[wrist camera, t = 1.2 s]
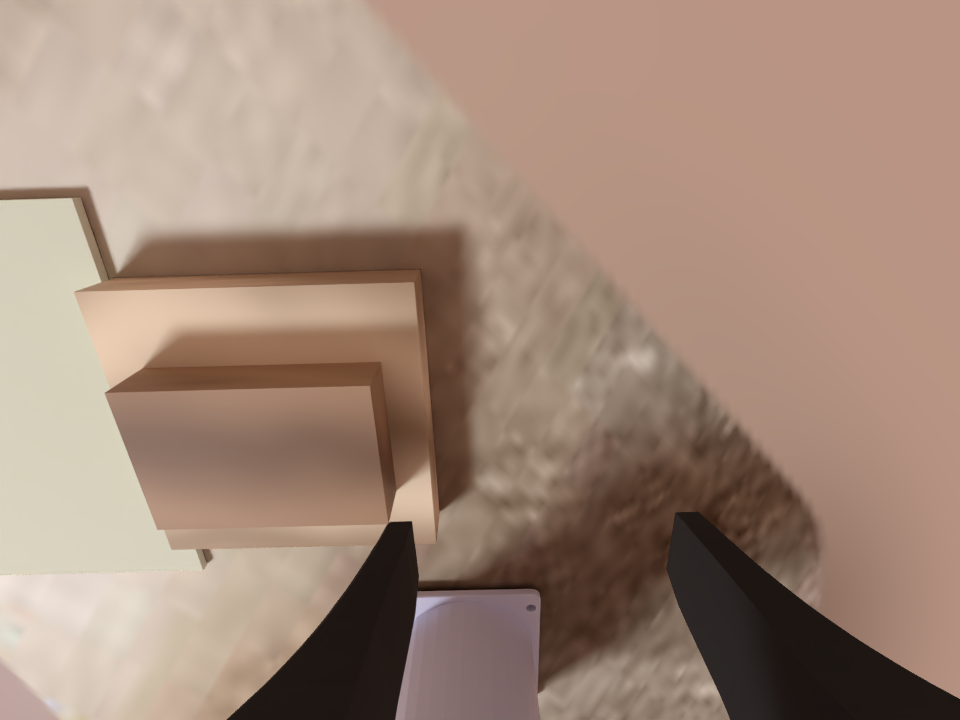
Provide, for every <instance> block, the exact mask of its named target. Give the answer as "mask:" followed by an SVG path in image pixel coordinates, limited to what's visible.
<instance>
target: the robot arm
mask: <svg viewBox="0 0 960 720" xmlns="http://www.w3.org/2000/svg"><path fill="white" fill-rule="evenodd" d="M667 572H668V575H669V578H670V581H671V584H672V587H673V590H674V593H675V596H676V599H677V602H678V605H679V607H680V610H681V612H682V614H683V616H684V619H685V621H686V623H687V625H688V627H689V629H690V632H691V634H692V636H693V638H694V640H695V642H696V644H697V647H698V649H699V651H700V653H701V655H702V657H703V659H704V662H705V664H706V666H707V668H708V670H709V672H710V674H711V676H712V679H713V681H714V683H715V685H716V687H717V689H718V691H719V694H720V696H721V698H722V701H723V703H724V705H725V708H726V710H727V712H728V715H729V717H730V720H960V699H959V698H957V697H955V696H953V695H951V694H949V693H948V692H946V691H944V690H942V689H940V688H938V687H936V686H935V685H933V684H931V683H929V682H927V681H926V680H924V679H922V678H921V677H919V676H917V675H915V674H914V673H912V672H910V671H908V670H907V669H905V668H903V667H901V666H900V665H898V664H896V663H895V662H893V661H892V660H890V659H888V658H887V657H885V656H883V655H882V654H880V653H879V652H877V651H875V650H874V649H872V648H870V647H869V646H867V645H866V644H864V643H863V642H861V641H859V640H858V639H856V638H855V637H853V636H852V635H850V634H849V633H847V632H846V631H845V630H843V629H842V628H840V627H839V626H837V625H836V624H834V623H833V622H832V621H830V620H829V619H827V618H826V617H824V616H823V615H821V614H820V613H819V612H817V611H816V610H815V609H813V608H812V607H810V606H809V605H808V604H806V603H805V602H804V601H803V600H801V599H800V598H799V597H797V596H796V595H795V594H793V593H792V592H791V591H790V590H788V589H787V588H786V587H784V586H783V585H782V584H781V583H779V582H778V581H777V580H776V579H775V578H773V577H772V576H771V575H770V574H768V573H767V572H766V571H765V570H764V569H762V568H761V567H760V566H759V565H758V564H757V563H755V562H754V561H753V560H752V559H751V558H750V557H748V556H747V555H746V554H745V553H744V552H743V551H741V550H740V549H739V548H738V547H737V546H736V545H735V544H734V543H732V542H731V541H730V540H729V539H728V538H727V537H726V536H725V535H723V534H722V533H721V532H720V531H719V530H718V529H717V528H716V527H715V526H713V525H712V524H711V523H710V522H709V521H708V520H707V519H706V518H705V517H703V516H702V515H701V514H700V513H699V512H679V513H675V519H674V525H673V531H672V538H671V544H670V550H669V556H668V563H667ZM418 579H419V574H418V566H417V557H416V549H415V541H414V533H413V525H412V521H399V522H389V523H388V524H387V525H386V527H385V529H384V531H383V532H382V534H381V536H380V538H379V540H378V541H377V543H376V545H375V546H374V548H373V550H372V551H371V553H370V555H369V556H368V558H367V559H366V561H365V563H364V564H363V566H362V567H361V569H360V570H359V572H358V573H357V575H356V576H355V578H354V579H353V581H352V582H351V584H350V585H349V586H348V588H347V589H346V591H345V592H344V593H343V595H342V596H341V597H340V599H339V600H338V601H337V603H336V604H335V605H334V607H333V608H332V610H331V611H330V612H329V614H328V615H327V616H326V617H325V619H324V620H323V621H322V622H321V624H320V625H319V626H318V627H317V628H316V630H315V631H314V632H313V633H312V634H311V636H310V637H309V638H308V639H307V640H306V641H305V642H304V644H303V645H302V646H301V647H300V648H299V649H298V650H297V651H296V652H295V654H294V655H293V656H292V657H291V658H290V659H289V660H288V661H287V662H286V663H285V664H284V665H283V666H282V667H281V668H280V669H279V671H278V672H277V673H276V674H275V675H274V676H273V677H272V678H271V679H270V680H269V681H268V682H267V683H266V684H265V685H264V686H262V687H261V688H260V689H259V690H258V691H257V692H256V693H255V694H254V695H253V696H252V697H251V698H250V699H248V700H247V701H246V702H245V703H244V704H243V705H242V706H241V707H240V708H239V709H238V710H237V711H235V712H234V713H233V714H232V715H231V716H230V717H229V718H228V719H227V720H540V714H539V705H538V666H539V635H540V604H541V599H540V594H539V592H538V591H537V590H535V589H498V590H454V591H418Z"/></svg>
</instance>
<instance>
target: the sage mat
mask: <svg viewBox="0 0 960 720" xmlns="http://www.w3.org/2000/svg"><path fill="white" fill-rule="evenodd" d="M107 280H109V279H108V276H107V273H106V270H105V267H104V264H103V261H102V258H101V256H100V253H99V250H98V247H97V244H96V241H95V238H94V235H93V232H92V229H91V227H90V224H89V221H88V218H87V215H86V212H85V209H84V206H83V203H82V201H81V198H80V197H76V198H42V199H9V200H0V575H32V574H75V573H117V572H160V571H202V570H204V568H205V567H206V565H207V562H206V559H205V557H204V554H203V551H202V549H186V550H171V547H170V545H169V542H168V539H167V537H166V534H165V531H164V530H157V528H156V525H155V522H154V520H153V517H152V515H151V512H150V510H149V507H148V504H147V502H146V499H145V497H144V494H143V491H142V489H141V486H140V484H139V481H138V478H137V476H136V473H135V471H134V468H133V466H132V463H131V460H130V458H129V455H128V453H127V450H126V447H125V445H124V442H123V440H122V437H121V435H120V432H119V429H118V427H117V424H116V422H115V419H114V416H113V414H112V411H111V409H110V406H109V403H108V401H107V398H106V396H105V392H107V391H108V390H110V387H109V384H108V381H107V379H106V376H105V373H104V371H103V368H102V365H101V363H100V360H99V358H98V355H97V352H96V350H95V347H94V344H93V342H92V339H91V336H90V334H89V331H88V329H87V326H86V323H85V321H84V318H83V315H82V313H81V310H80V307H79V305H78V302H77V300H76V297H75V294H74V292H75V291H78V290H81V289H83V288H86V287H89V286H92V285H95V284H98V283H101V282H104V281H107Z"/></svg>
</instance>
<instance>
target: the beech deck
mask: <svg viewBox="0 0 960 720" xmlns="http://www.w3.org/2000/svg"><path fill="white" fill-rule="evenodd" d="M74 294H75V297H76V300H77V302H78V305H79V307H80V310H81V313H82V315H83V318H84V321H85V323H86V326H87V329H88V331H89V334H90V336H91V339H92V342H93V344H94V347H95V350H96V352H97V355H98V358H99V360H100V363H101V365H102V368H103V371H104V373H105V376H106V379H107V381H108V384H109V387H110V389H111V388H113V387H114V386H116V385H117V384H119V383H120V382H122V381H124V380H125V379H127V378H128V377H130V376H131V375H133V374H134V373H136V372H138V371H139V370H141V369H142V368H171V367H208V366H245V365H283V364H320V363H357V362H381V367H382V375H383V383H384V392H385V400H386V408H387V416H388V425H389V433H390V441H391V449H392V457H393V466H394V474H395V482H396V490H397V491H396V495H395V499H394V503H393V507H392V512H391V516H390V520H389V522H399V521H412V525H413V533H414V541H415V544H436V542H437V532H438V523H439V513H440V512H439V499H438V486H437V474H436V461H435V448H434V435H433V423H432V410H431V397H430V384H429V372H428V359H427V346H426V333H425V321H424V308H423V295H422V283H421V270H420V269H415V270H380V271H345V272H310V273H275V274H240V275H205V276H170V277H135V278H112V279H109V280H107V281H104V282H101V283H98V284H95V285H92V286H89V287H86V288H83V289H81V290H78V291H75V292H74ZM386 525H387V524H382V525H341V526H300V527H259V528H218V529H176V530H164V531H165V534H166V537H167V539H168V542H169V545H170V547H171V550H186V549H228V548H270V547H312V546H354V545H376V543H377V541H378V540H379V538H380V536H381V534H382V532H383V531H384V529H385V527H386Z"/></svg>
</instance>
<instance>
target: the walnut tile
mask: <svg viewBox="0 0 960 720" xmlns="http://www.w3.org/2000/svg"><path fill="white" fill-rule="evenodd" d="M105 396H106V398H107V401H108V403H109V406H110V409H111V411H112V414H113V416H114V419H115V422H116V424H117V427H118V429H119V432H120V435H121V437H122V440H123V442H124V445H125V447H126V450H127V453H128V455H129V458H130V460H131V463H132V466H133V468H134V471H135V473H136V476H137V478H138V481H139V484H140V486H141V489H142V491H143V494H144V497H145V499H146V502H147V504H148V507H149V510H150V512H151V515H152V517H153V520H154V522H155V525H156V528H157V530H176V529H218V528H259V527H300V526H341V525H382V524H388V523H389V520H390V516H391V512H392V507H393V503H394V499H395V495H396V491H397V490H396V482H395V474H394V466H393V457H392V449H391V441H390V433H389V425H388V416H387V408H386V400H385V392H384V383H383V375H382V367H381V362H357V363H320V364H283V365H245V366H208V367H171V368H142V369H141V370H139V371H138V372H136V373H134V374H133V375H131V376H130V377H128V378H127V379H125V380H124V381H122V382H120V383H119V384H117V385H116V386H114V387H113V388H111V389H110V390H108V391H107V392H105Z"/></svg>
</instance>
